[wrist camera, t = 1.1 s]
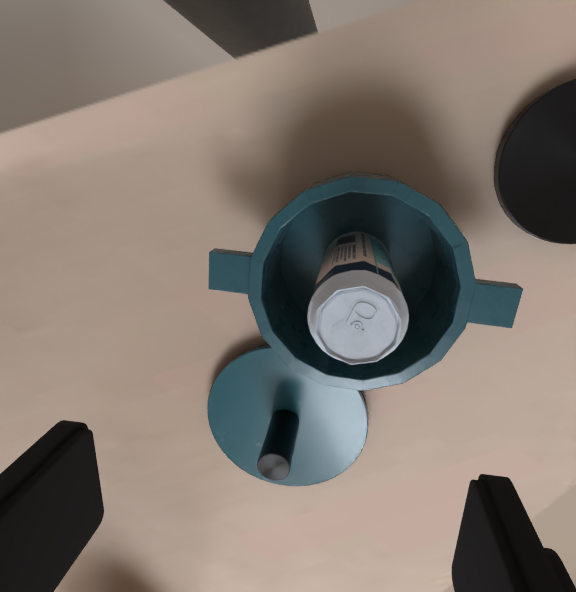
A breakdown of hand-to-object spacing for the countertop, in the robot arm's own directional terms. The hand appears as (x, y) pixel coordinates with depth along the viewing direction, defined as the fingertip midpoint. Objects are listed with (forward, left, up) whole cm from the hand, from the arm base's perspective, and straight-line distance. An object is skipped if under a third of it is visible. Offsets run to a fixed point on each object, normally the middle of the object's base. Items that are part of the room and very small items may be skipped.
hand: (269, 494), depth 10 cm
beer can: (-1, +2, -22) cm, 22 cm away
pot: (-1, +2, -22) cm, 22 cm away
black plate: (-9, +15, -22) cm, 28 cm away
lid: (+13, -2, -22) cm, 26 cm away
